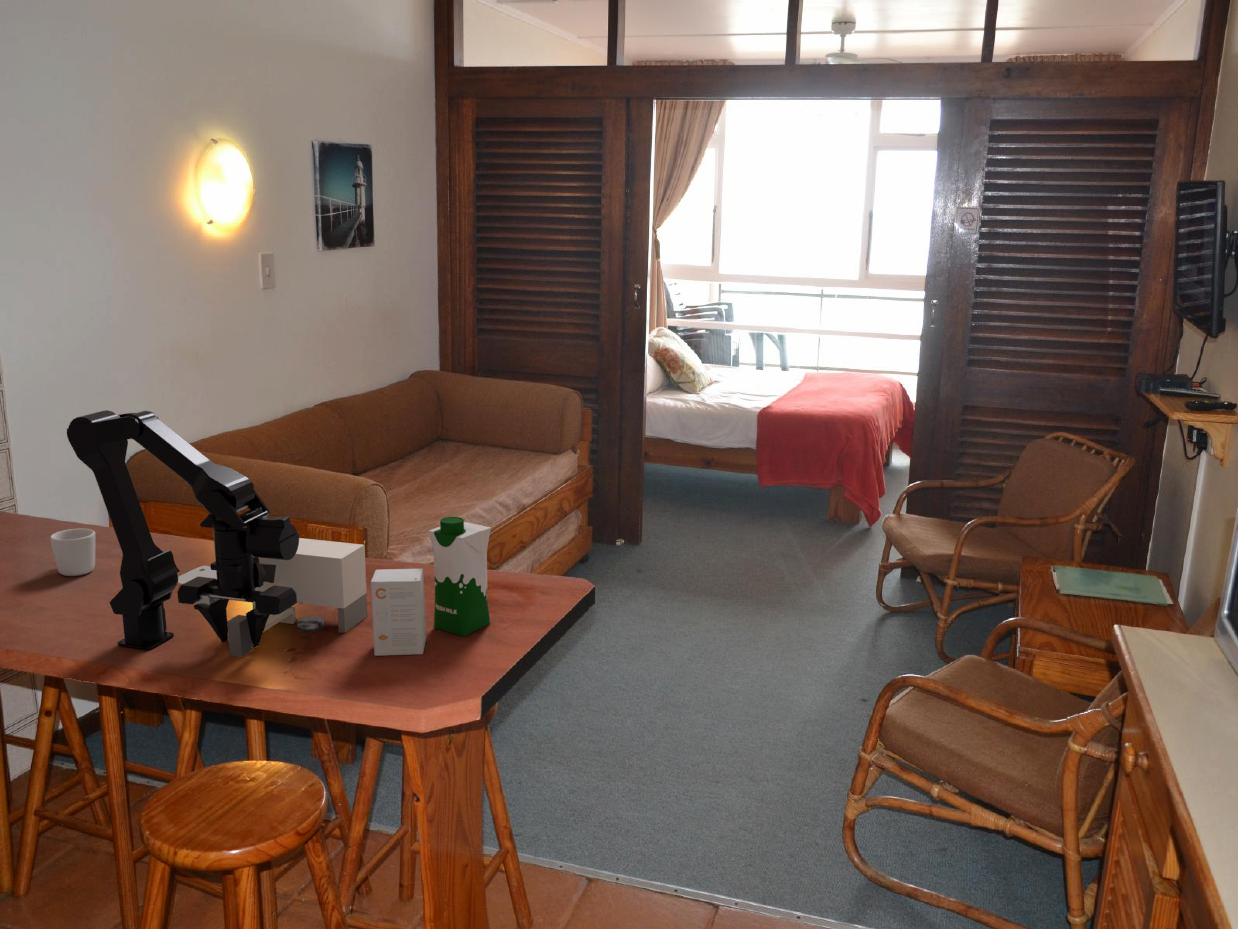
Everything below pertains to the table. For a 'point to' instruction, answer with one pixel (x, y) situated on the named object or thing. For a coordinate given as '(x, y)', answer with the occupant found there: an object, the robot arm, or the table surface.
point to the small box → (398, 612)
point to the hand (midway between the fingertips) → (240, 644)
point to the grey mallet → (241, 635)
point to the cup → (74, 551)
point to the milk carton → (460, 575)
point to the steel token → (310, 624)
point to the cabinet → (326, 578)
